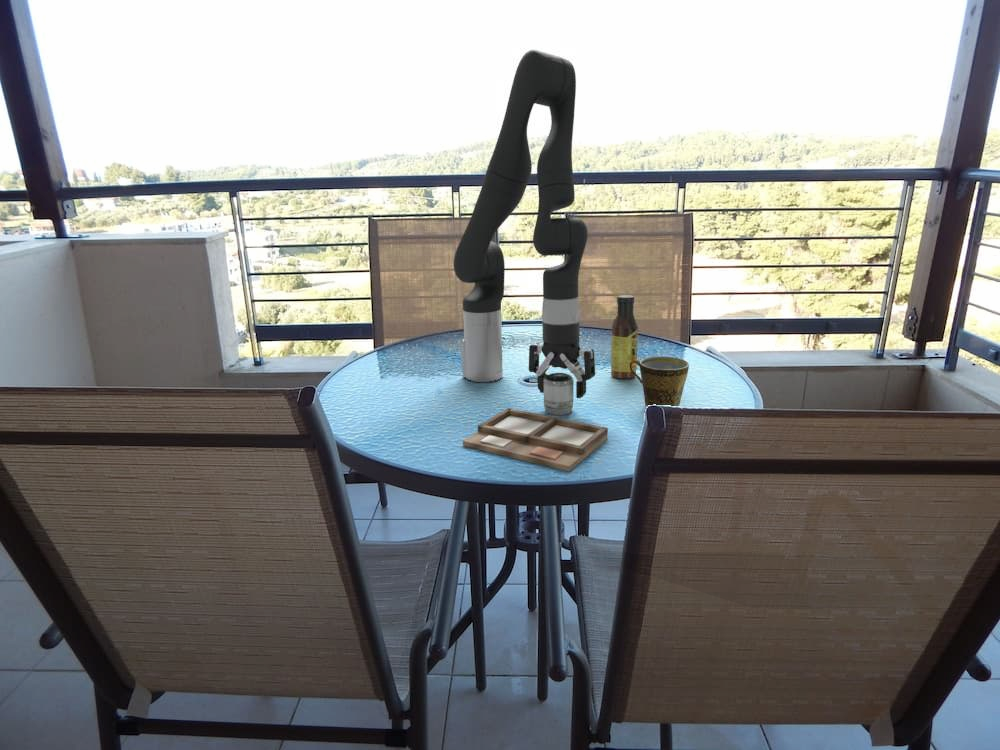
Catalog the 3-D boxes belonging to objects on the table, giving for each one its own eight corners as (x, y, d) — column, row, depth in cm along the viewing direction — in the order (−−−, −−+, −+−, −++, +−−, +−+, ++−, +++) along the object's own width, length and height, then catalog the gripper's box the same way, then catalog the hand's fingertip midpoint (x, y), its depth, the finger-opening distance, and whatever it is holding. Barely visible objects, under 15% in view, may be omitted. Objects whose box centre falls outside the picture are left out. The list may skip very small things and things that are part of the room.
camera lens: (578, 413, 131) (579, 377, 129) (551, 417, 129) (551, 381, 126) (564, 403, 137) (565, 369, 134) (538, 408, 134) (538, 373, 132)
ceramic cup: (694, 406, 133) (697, 361, 130) (672, 420, 126) (675, 372, 123) (640, 394, 141) (642, 351, 138) (616, 406, 134) (617, 361, 131)
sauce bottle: (636, 380, 151) (639, 299, 145) (610, 379, 152) (612, 298, 146) (636, 372, 157) (639, 294, 151) (611, 371, 158) (613, 293, 152)
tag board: (463, 445, 116) (462, 434, 116) (508, 418, 129) (507, 408, 128) (569, 471, 105) (569, 459, 104) (607, 438, 118) (607, 427, 117)
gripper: (600, 318, 126) (599, 394, 131) (538, 313, 134) (539, 385, 138) (585, 325, 120) (585, 405, 125) (521, 319, 128) (523, 395, 132)
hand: (561, 394), depth 132 cm, fingers open, 8 cm apart
